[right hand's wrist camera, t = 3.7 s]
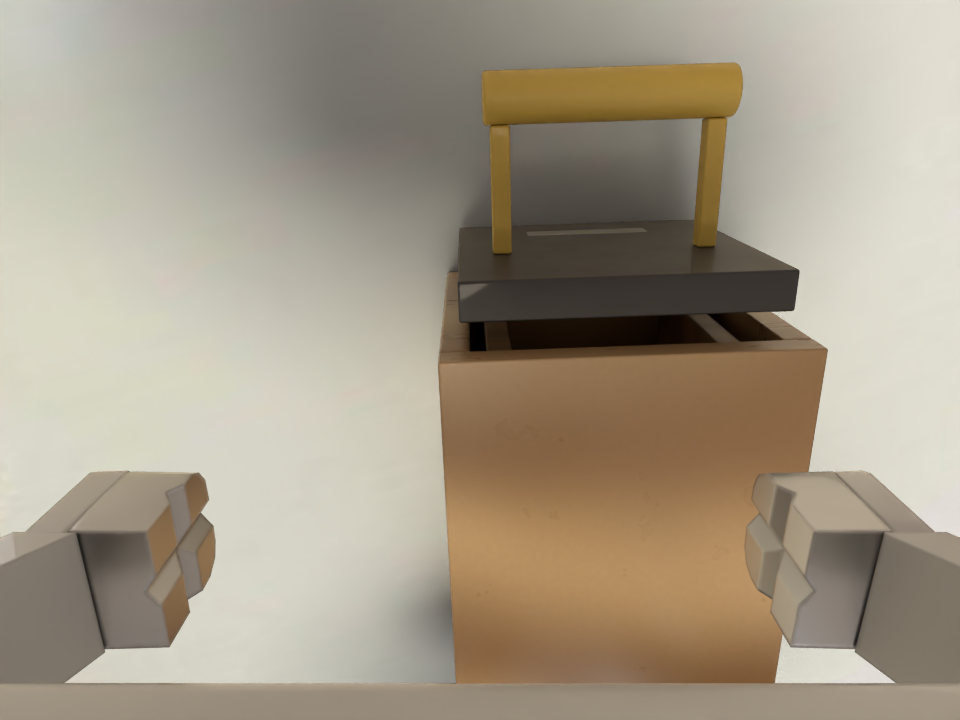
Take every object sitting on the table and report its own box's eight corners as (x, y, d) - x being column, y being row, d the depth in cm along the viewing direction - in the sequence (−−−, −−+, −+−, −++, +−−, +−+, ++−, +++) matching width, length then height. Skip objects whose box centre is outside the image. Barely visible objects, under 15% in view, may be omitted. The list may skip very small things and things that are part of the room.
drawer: (453, 79, 25) (447, 63, 16) (707, 70, 25) (831, 51, 17) (476, 633, 34) (480, 805, 26) (662, 625, 34) (727, 795, 26)
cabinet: (447, 272, 28) (437, 363, 18) (698, 263, 28) (829, 348, 18) (466, 667, 36) (467, 888, 26) (665, 659, 36) (744, 876, 26)
